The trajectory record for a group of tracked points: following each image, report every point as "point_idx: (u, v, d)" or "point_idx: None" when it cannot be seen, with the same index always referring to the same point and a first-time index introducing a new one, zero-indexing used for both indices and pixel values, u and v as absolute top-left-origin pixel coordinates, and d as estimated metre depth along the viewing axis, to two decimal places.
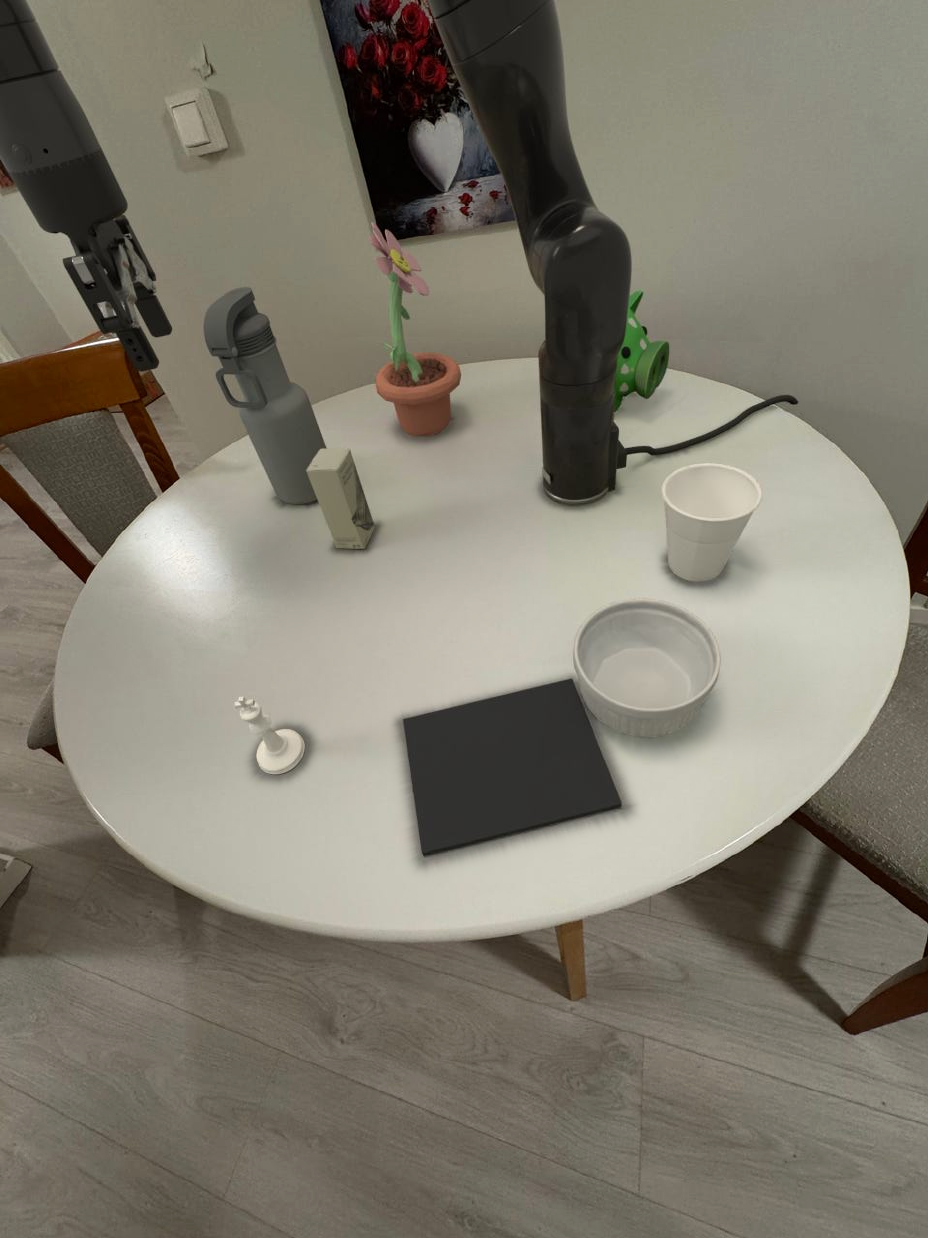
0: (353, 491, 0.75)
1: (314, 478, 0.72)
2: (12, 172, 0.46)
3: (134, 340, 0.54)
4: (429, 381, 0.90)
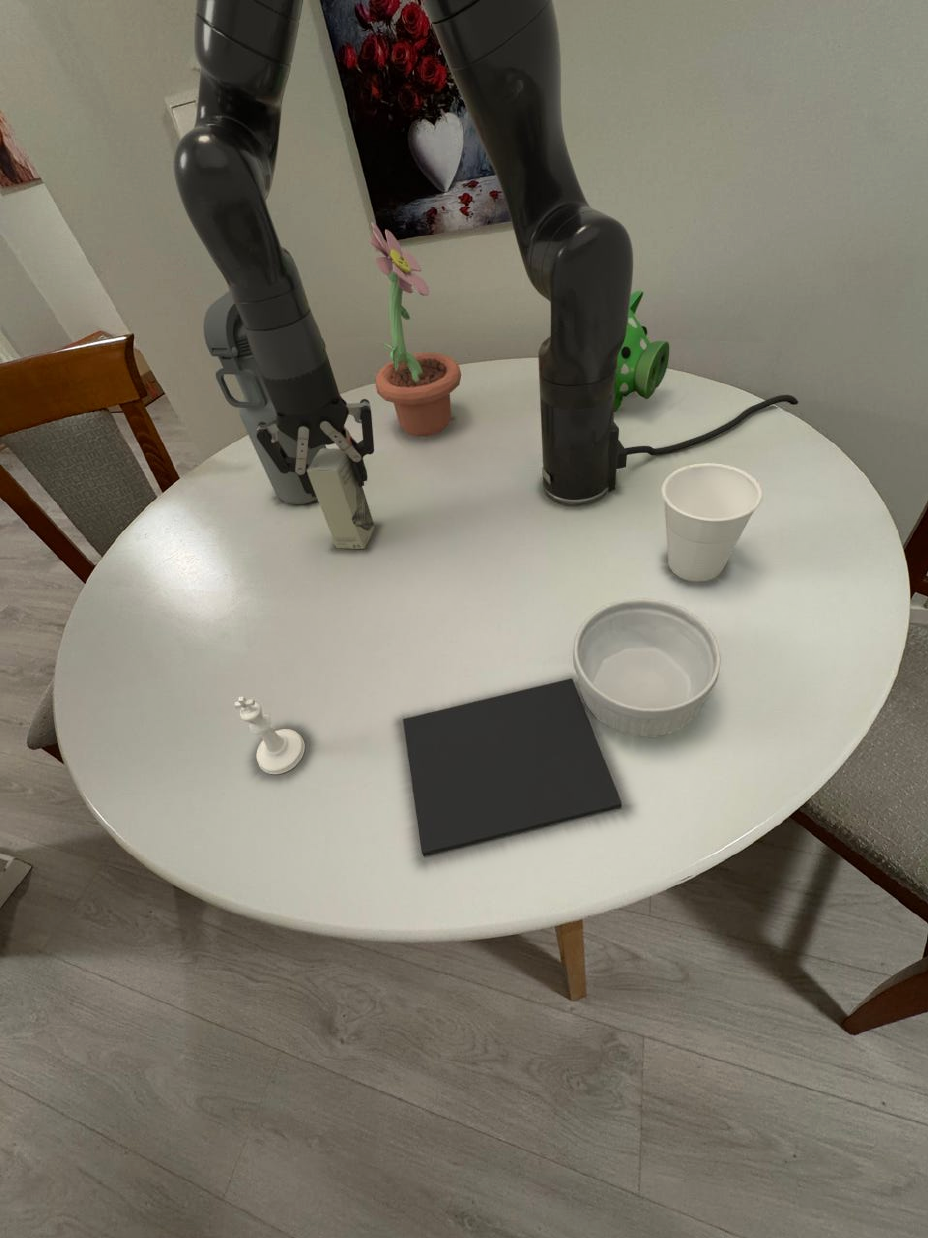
0: (353, 491, 0.75)
1: (314, 478, 0.72)
2: None
3: None
4: (429, 381, 0.90)
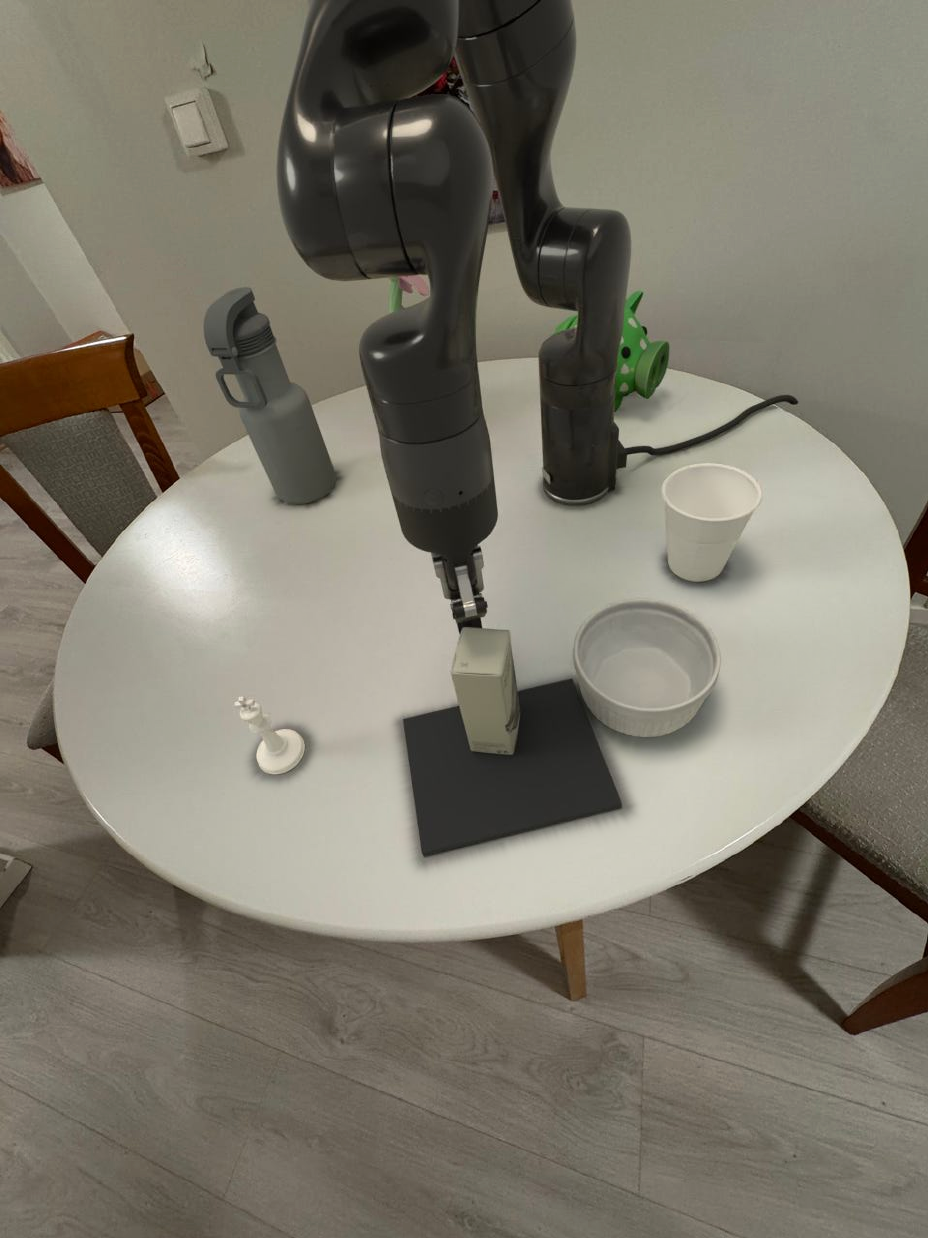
0: (510, 688, 0.51)
1: (461, 682, 0.48)
2: (409, 506, 0.40)
3: None
4: None
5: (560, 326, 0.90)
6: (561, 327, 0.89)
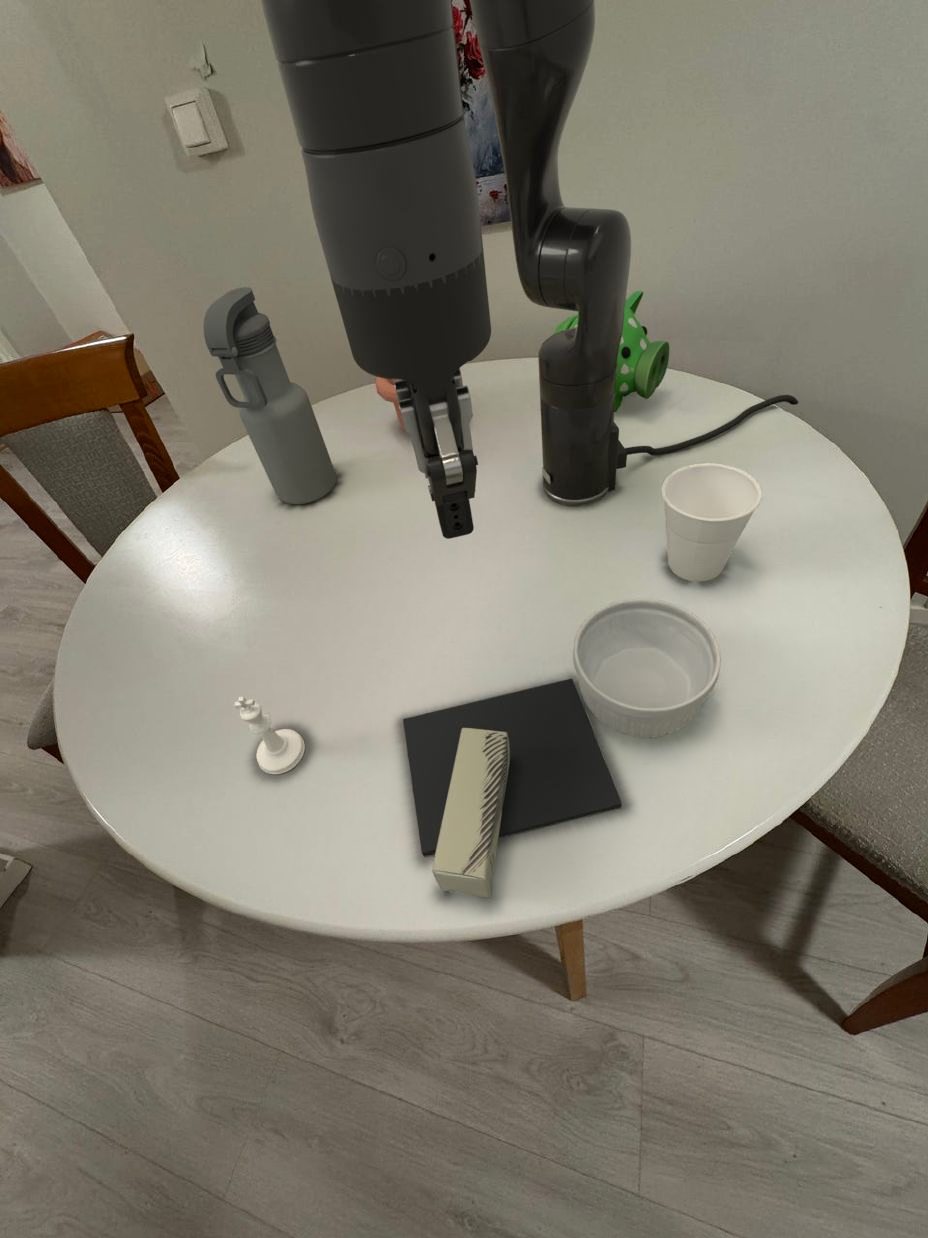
0: (497, 832, 0.49)
1: None
2: (355, 290, 0.26)
3: (460, 505, 0.38)
4: None
5: (560, 326, 0.90)
6: (561, 327, 0.89)
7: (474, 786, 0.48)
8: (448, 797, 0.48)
